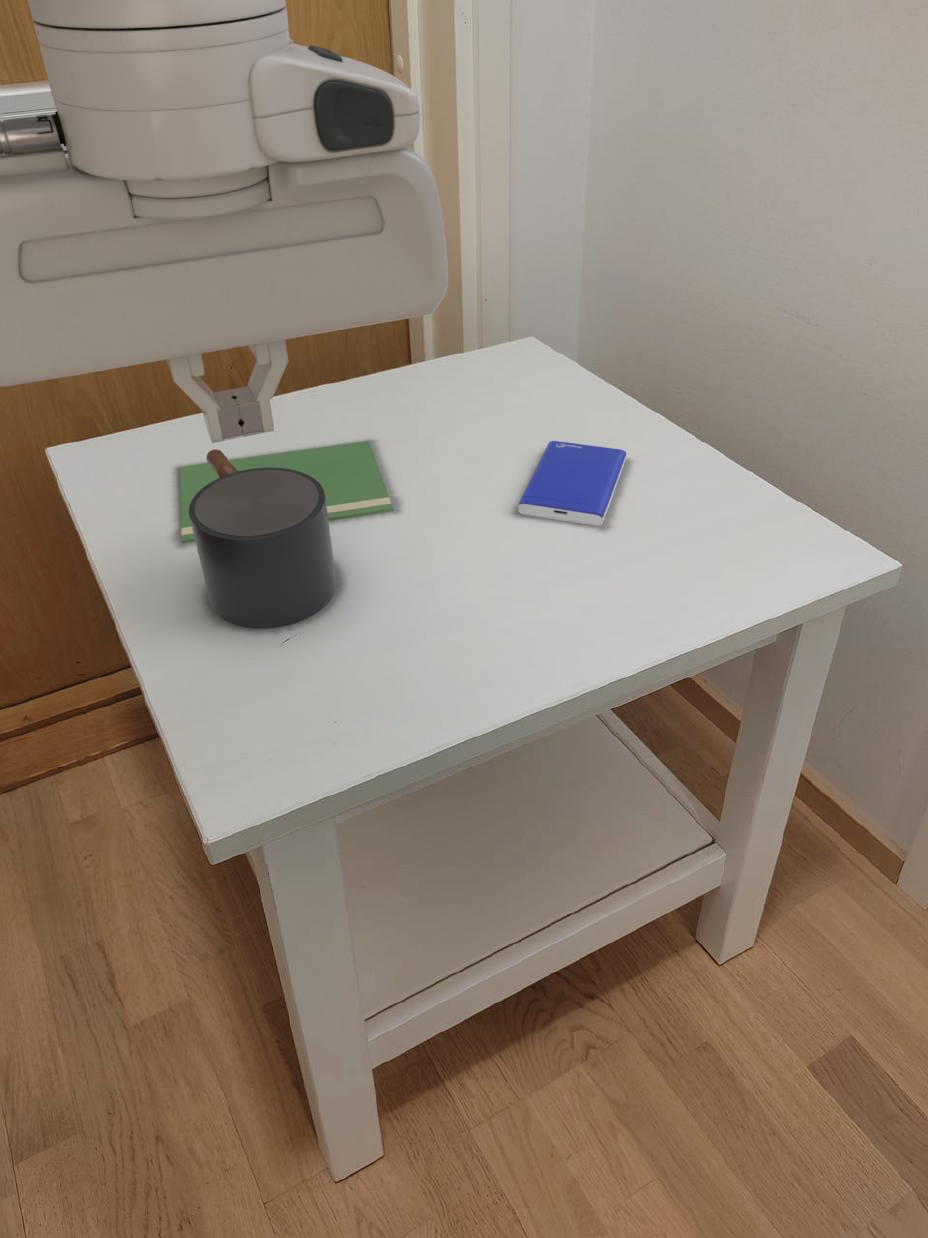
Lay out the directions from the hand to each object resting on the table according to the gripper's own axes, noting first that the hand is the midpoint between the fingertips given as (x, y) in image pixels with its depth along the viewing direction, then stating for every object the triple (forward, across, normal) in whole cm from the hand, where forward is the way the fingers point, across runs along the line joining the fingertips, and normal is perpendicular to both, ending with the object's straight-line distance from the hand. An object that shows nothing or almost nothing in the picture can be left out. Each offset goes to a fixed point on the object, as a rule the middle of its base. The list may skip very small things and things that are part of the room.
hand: (240, 432), depth 45 cm
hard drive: (+29, +35, +31) cm, 55 cm away
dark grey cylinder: (+29, +3, +30) cm, 42 cm away
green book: (+29, +8, +43) cm, 52 cm away
